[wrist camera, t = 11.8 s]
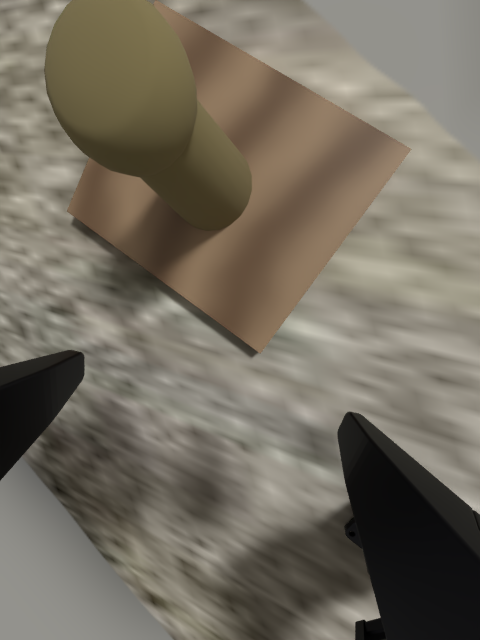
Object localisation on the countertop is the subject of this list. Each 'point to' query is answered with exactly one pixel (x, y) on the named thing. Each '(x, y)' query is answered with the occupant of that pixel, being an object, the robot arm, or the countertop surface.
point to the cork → (143, 108)
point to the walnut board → (266, 196)
